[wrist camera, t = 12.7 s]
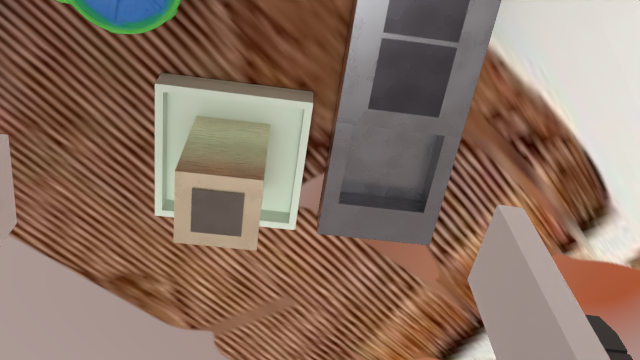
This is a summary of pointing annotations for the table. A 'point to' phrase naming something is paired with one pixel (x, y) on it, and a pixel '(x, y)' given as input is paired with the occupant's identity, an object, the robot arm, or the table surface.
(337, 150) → the grey compartment tray
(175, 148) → the parts tray
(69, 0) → the snack cup
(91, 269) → the table surface
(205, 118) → the square wooden post
